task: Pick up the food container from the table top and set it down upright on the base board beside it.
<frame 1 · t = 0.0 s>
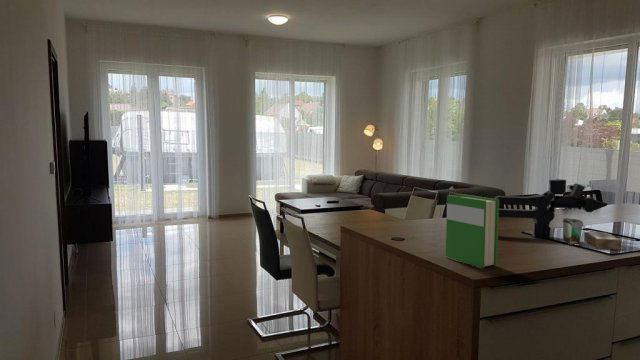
hand: (603, 203, 202), 17 cm above the table, tool horizontal, fingers open, 9 cm apart
hardback book: (470, 262, 166), on the table
base board: (601, 245, 192), on the table
food container: (574, 243, 196), on the table
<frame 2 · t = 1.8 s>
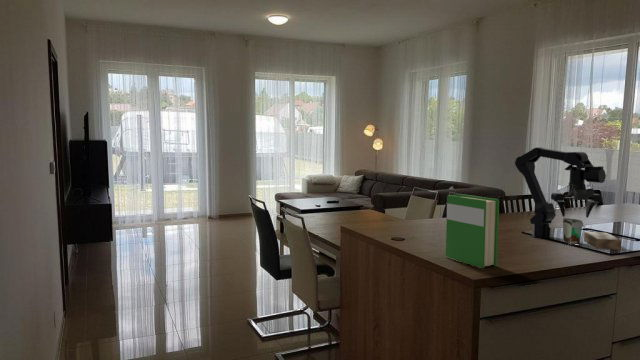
hand: (575, 217, 195), 11 cm above the table, tool pointing down, fingers open, 9 cm apart
nothing on the table moved.
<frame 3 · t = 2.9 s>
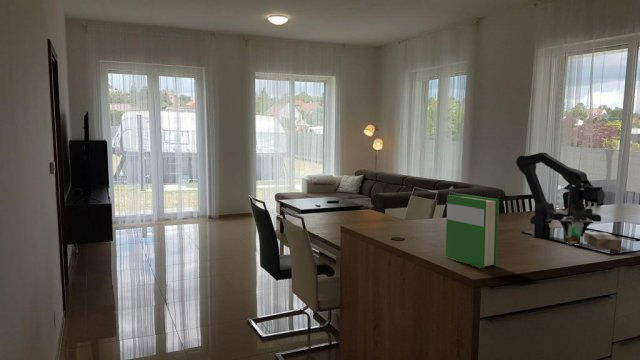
hand: (573, 236, 196), 3 cm above the table, tool pointing down, fingers closed on food container, 6 cm apart
food container: (574, 243, 196), on the table, touching gripper
everything else where it was.
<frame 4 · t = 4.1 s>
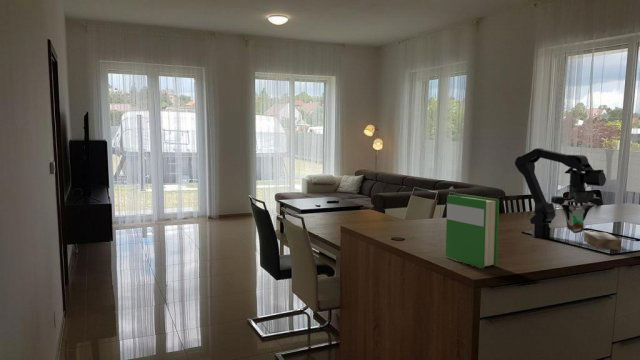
hand: (575, 220, 195), 10 cm above the table, tool pointing down, fingers closed on food container, 6 cm apart
food container: (578, 230, 196), point 6 cm above the table, touching gripper
everything else where it was.
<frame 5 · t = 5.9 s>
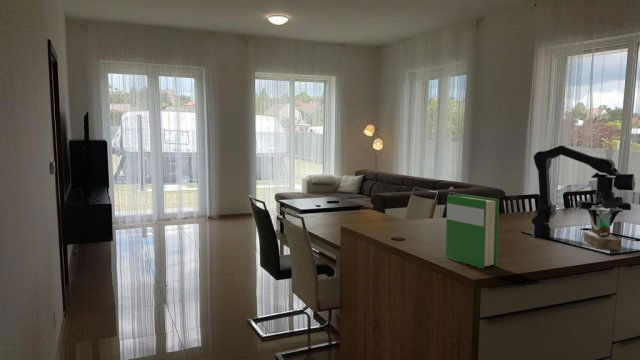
hand: (602, 225, 191), 8 cm above the table, tool pointing down, fingers closed on food container, 5 cm apart
food container: (604, 234, 192), point 4 cm above the table, touching base board, gripper
everything else where it was.
when the fingers open (8 cm above the table, at t = 6.4 s): food container stays where it is, resting on base board.
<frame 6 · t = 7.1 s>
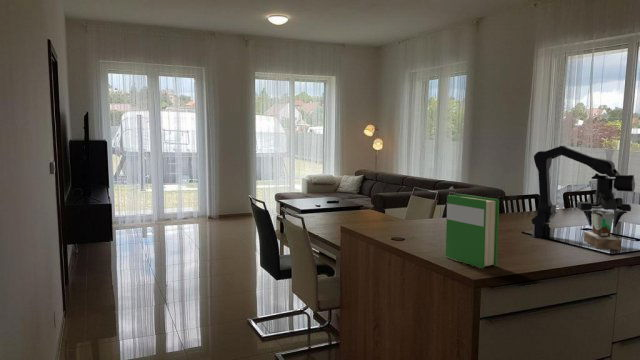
hand: (602, 226, 191), 8 cm above the table, tool pointing down, fingers open, 9 cm apart
food container: (604, 235, 192), point 4 cm above the table, touching base board
everything else where it was.
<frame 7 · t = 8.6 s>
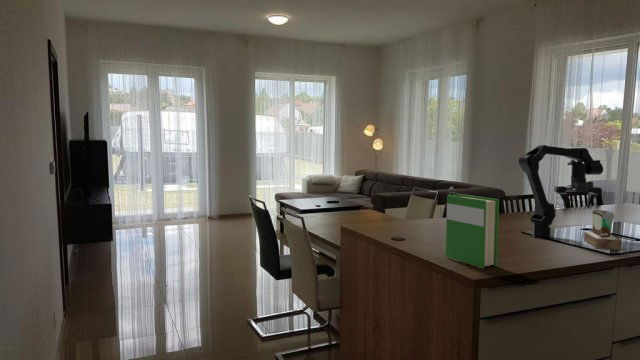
hand: (576, 208, 210), 13 cm above the table, tool pointing down, fingers open, 9 cm apart
nothing on the table moved.
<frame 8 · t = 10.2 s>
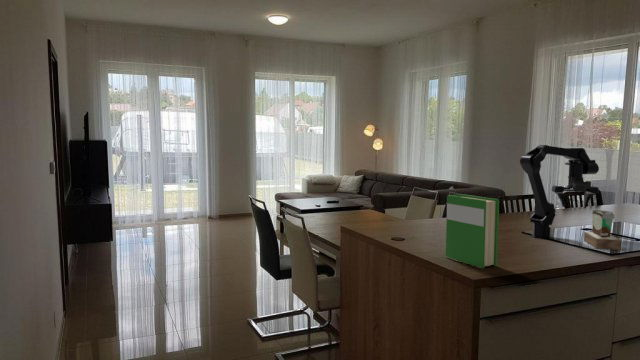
hand: (574, 207, 212), 13 cm above the table, tool pointing down, fingers open, 9 cm apart
nothing on the table moved.
at the end: food container 1.2 cm from the base board (horizontally); food container touching base board; food container tilted 0° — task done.
